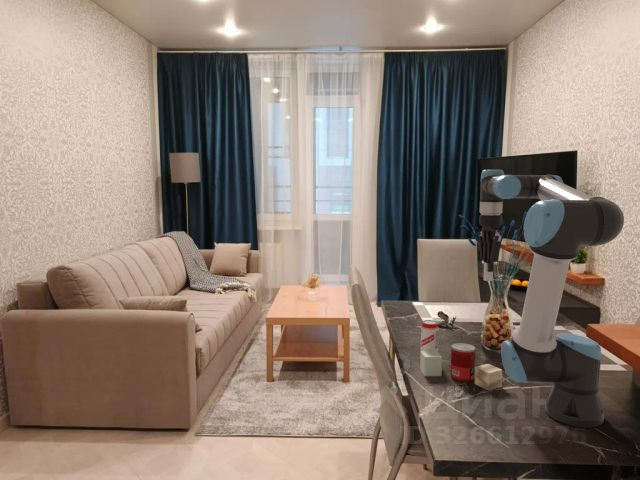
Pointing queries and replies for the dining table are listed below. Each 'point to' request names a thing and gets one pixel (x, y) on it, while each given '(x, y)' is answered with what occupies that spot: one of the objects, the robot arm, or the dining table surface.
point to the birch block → (488, 377)
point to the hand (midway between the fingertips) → (488, 280)
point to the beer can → (429, 336)
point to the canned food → (462, 362)
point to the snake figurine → (446, 318)
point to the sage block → (431, 363)
